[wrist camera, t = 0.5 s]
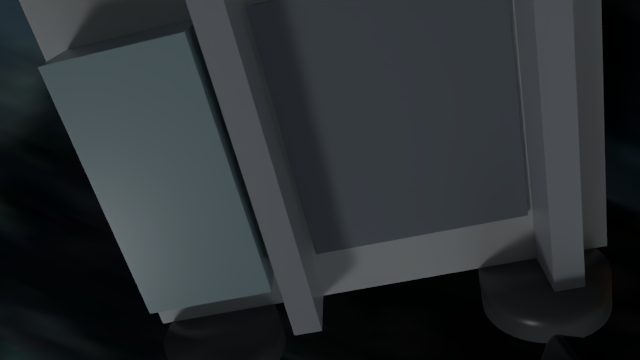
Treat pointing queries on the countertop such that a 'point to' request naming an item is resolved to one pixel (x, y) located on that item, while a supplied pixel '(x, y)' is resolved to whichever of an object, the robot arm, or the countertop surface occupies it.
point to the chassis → (338, 155)
